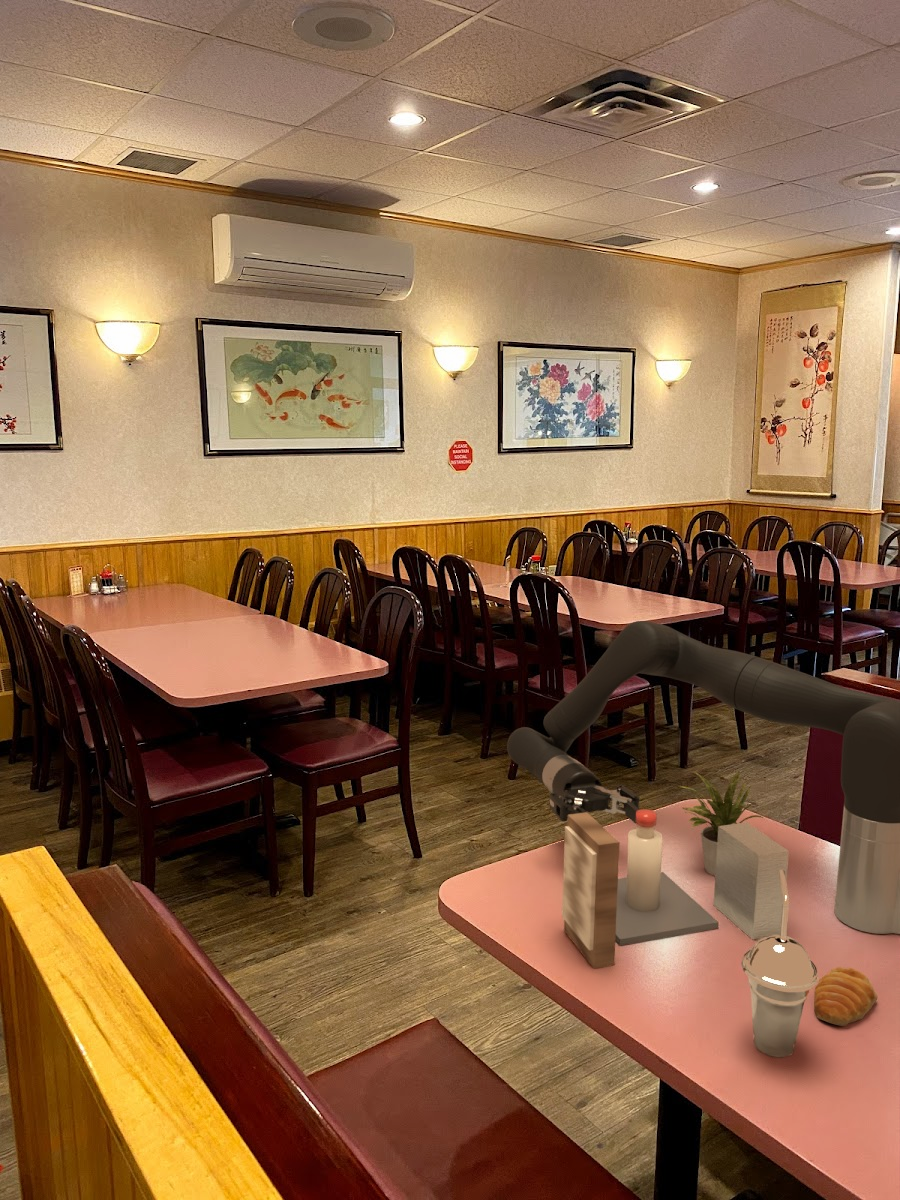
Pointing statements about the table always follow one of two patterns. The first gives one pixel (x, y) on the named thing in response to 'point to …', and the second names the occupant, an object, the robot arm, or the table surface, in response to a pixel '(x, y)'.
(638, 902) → the sauce bottle
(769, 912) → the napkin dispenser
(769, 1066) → the table surface
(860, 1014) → the pastry
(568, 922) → the stand
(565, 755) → the robot arm
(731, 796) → the house plant
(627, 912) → the slate tray
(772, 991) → the cup with straw
